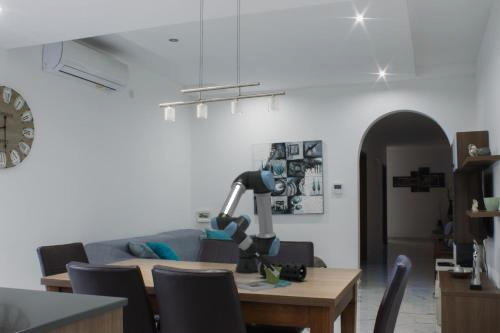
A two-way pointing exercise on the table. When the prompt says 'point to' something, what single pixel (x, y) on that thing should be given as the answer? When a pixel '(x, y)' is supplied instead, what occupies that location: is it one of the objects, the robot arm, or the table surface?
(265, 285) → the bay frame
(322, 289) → the table surface
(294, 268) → the muzzle brake
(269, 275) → the plant pot
